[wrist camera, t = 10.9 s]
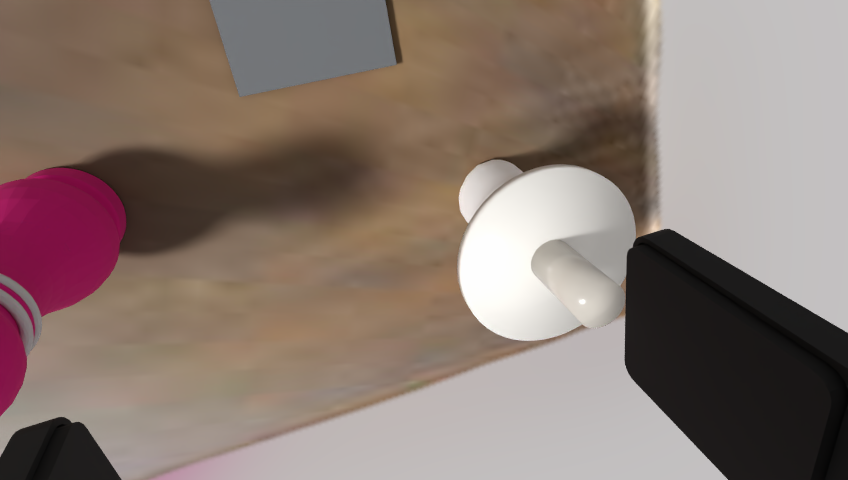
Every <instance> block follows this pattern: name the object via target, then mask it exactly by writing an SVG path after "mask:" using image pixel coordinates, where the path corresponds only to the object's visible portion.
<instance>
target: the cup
mask: <svg viewBox="0 0 848 480" xmlns="http://www.w3.org/2000/svg"><path fill="white" fill-rule="evenodd" d="M522 173H524V172H522V171H521V170H520V169H519V168H518V167H516V166H515V165H514V164H512V163H510V162H508V161H504V160H490V161H487V162H485V163H482V164H479V165H477V166H476V167H475V168H474V169H473V170H472V171H471V172H470V173H469V174H468V175H467V177H466V179H465V181H464V183H463V185H462V187H461V189H460V194H459V205H460V211H461V213H462V215H463V216H464V218H465V220H466V221H467V222H468V223H469V222H470V220H471V219H472V217H473V215H474V214H475V212H476V211H477V210H478V208H479V207H480V206H481V205H482V203H483V202H484V201H485V200H486V199H487V198H488V197H489V196H490V195H491V194H492V193H493V192H494V191H495V190H496V189H498V188H499V187H500V186H501V185H503V184H504V183H505V182H507V181H509V180H510V179H512V178H514V177H515V176H517V175H519V174H522Z"/></svg>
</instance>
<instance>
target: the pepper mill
mask: <svg viewBox="0 0 848 480" xmlns="http://www.w3.org/2000/svg"><path fill="white" fill-rule="evenodd" d="M125 229H126V214H125V210H124V206H123V204H122V202H121V200H120V199H119V197H118V196H117V194H116V193H115V192H114V191H113V190H112V189H111V188H110V187H109V186H108V185H107V184H106V183H105V182H103V181H102V180H100V179H99V178H97V177H95V176H93V175H91V174H89V173H86V172H83V171H80V170H76V169H70V168H50V169H45V170H41V171H39V172H36V173H34V174H32V175H30V176H28V177H27V178H26V179H20V180H16V181H12V182H8V183H5V184H2V185H0V416H1V415H2V414H3V413H4V412H5V411H6V410H7V408H8V407H9V406H10V405H11V404H12V403H13V401H14V399H15V397H16V396H17V394H18V392H19V390H20V388H21V386H22V384H23V381H24V377H25V372H26V368H27V356H28V355H29V353H30V351H31V350H32V349H33V347H34V346H35V345H36V343H37V341H38V340H39V337H40V334H41V329H42V318H41V317H42V316H44V315H46V314H48V313H51V312H54V311H57V310H60V309H63V308H66V307H69V306H71V305H74V304H76V303H77V302H79V301H80V300H82V299H84V298H85V297H87V296H89V295H90V294H92V293H93V292H94V291H95V290H97V289H98V288H99V287H100V286H101V285H102V283H103V282H104V281H105V280H106V279H107V278H108V277H109V275H110V274H111V272H112V271H113V269H114V267H115V265H116V262H117V260H118V256H119V248H120V241H121V240H122V238H123V236H124V233H125Z"/></svg>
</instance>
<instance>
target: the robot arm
mask: <svg viewBox="0 0 848 480" xmlns="http://www.w3.org/2000/svg"><path fill="white" fill-rule="evenodd" d="M625 365H626V368H627V371H628V373H629V375H630V376H631V378H632V379H633V380H634V381H635V382H636V384H637V385H638V386H639V387H640V388H641V389H642V390H643V391H644V392H645V393H646V394H647V395H648V396H649V397H650V398H651V399H652V400H653V401H654V402H655V403H656V404H657V405H658V407H659V408H660V409H661V410H662V411H663V412H664V413H665V414H666V415H667V416H668V417H669V418H670V419H671V420H672V421H673V422H674V423H675V424H676V425H677V426H678V428H679V429H680V430H681V431H682V432H683V433H684V434H685V435H686V436H687V437H688V438H689V439H690V440H691V441H692V442H693V443H694V444H695V445H696V446H697V447H698V449H700V451H701V452H702V453H703V454H704V455H705V456H706V457H707V458H708V459H709V460H710V461H711V462H712V463H713V464H714V465H715V466H716V467H717V468H718V469H719V470H720V472H722V474H723V475H724V476H725V477H726V478H727V479H728V480H848V333H847V332H845V331H843V330H842V329H840V328H838V327H837V326H835V325H833V324H831V323H830V322H828V321H826V320H825V319H823V318H821V317H820V316H818V315H816V314H814V313H813V312H811V311H809V310H808V309H806V308H804V307H803V306H801V305H799V304H797V303H796V302H794V301H792V300H791V299H788V298H787V297H785V296H783V295H782V294H780V293H779V292H777V291H775V290H774V289H772V288H770V287H768V286H767V285H765V284H763V283H762V282H760V281H758V280H757V279H755V278H753V277H751V276H750V275H748V274H746V273H745V272H743V271H741V270H740V269H738V268H736V267H734V266H733V265H731V264H729V263H728V262H726V261H724V260H722V259H721V258H719V257H717V256H716V255H714V254H712V253H711V252H709V251H707V250H705V249H704V248H702V247H700V246H699V245H697V244H695V243H694V242H692V241H690V240H688V239H687V238H685V237H683V236H681V235H680V234H678V233H676V232H675V231H673V230H670V229H664V230H660V231H657V232H654V233H651V234H647V235H644V236H641V237H638V238H637V239H635V241H634V243H633V248H630V249H629V250H628V252H627V264H626V316H625ZM0 480H121V478H120V477H119V475H118V474H117V472H116V471H115V469H114V468H113V466H112V465H111V463H110V462H109V460H108V459H107V457H106V456H105V454H104V453H103V452H102V450H101V449H100V447H99V446H98V444H97V443H96V441H95V440H94V438H93V437H92V435H91V434H90V432H89V431H88V429H87V428H86V427H85V426H84V424H82V423H80V422H75V423H71V421H70V420H68V419H66V418H65V417H58V418H55V419H52V420H49V421H45V422H42V423H39V424H36V425H32V426H29V427H26V428H23V429H20V430H18V431H17V432H15V433H14V435H13V436H12V437H11V439H10V440H9V442H8V444H7V446H6V448H5V450H4V451H3V453H2V455H1V457H0Z"/></svg>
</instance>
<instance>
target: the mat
mask: <svg viewBox="0 0 848 480" xmlns="http://www.w3.org/2000/svg"><path fill="white" fill-rule="evenodd" d="M210 4H211V7H212V10H213V13H214V16H215V20H216V23H217V26H218V29H219V32H220V36H221V39H222V42H223V45H224V48H225V52H226V55H227V58H228V61H229V64H230V68H231V71H232V74H233V77H234V80H235V84H236V87H237V90H238V93H239V97H241V96H246V95H251V94H256V93H261V92H266V91H270V90H275V89H280V88H285V87H290V86H295V85H300V84H305V83H310V82H314V81H319V80H324V79H329V78H334V77H339V76H344V75H349V74H353V73H358V72H363V71H368V70H373V69H378V68H383V67H388V66H392V65H397V64H396V58H395V53H394V47H393V41H392V36H391V30H390V24H389V18H388V13H387V7H386V1H385V0H210Z"/></svg>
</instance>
